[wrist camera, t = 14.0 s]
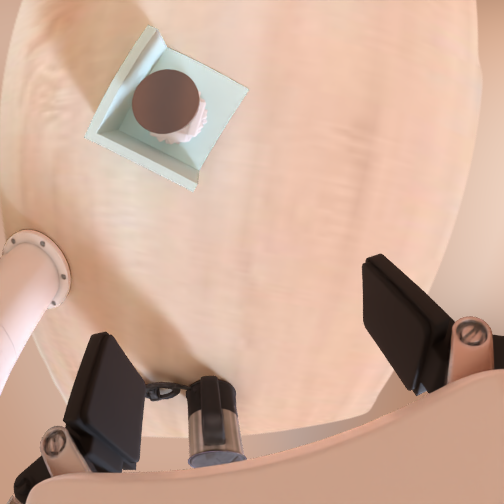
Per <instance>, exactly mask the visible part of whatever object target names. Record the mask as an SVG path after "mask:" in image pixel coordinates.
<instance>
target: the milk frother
mask: <svg viewBox="0 0 504 504" xmlns="http://www.w3.org/2000/svg"><path fill="white" fill-rule="evenodd" d="M159 388H168V389H172V390H173V391H172V392H170V393H168V394H164V395H160V391H159ZM180 389H185V390H187V391H186V398H187V401H188V421H189V453H190V458H189V459H188V463H189V465H190V466H191V467H193V468H200V467H207V466H214V465H221V464H227V463H232V462H238V461H243V460H247V458H246V457H245V456H244V453H243V447H242V440H241V434H240V427H239V421H238V414H237V409H236V391H235V389H234V387H233V386H232V385H230V384H229V383H227V382H224V381H221V380H218V379H217V377H216V376H204V377H201V379H200V381H198V382H195V383H193V384H192V385H191V386H189V387H188V386H185V385H180V384H176V383H169V382H156V383H150V384H147V385H146V392H145V397H146V398H149V399H150V400H151V401H159V400H161V399H169V398H173V397H174V396H176V395H178V394H179V393H180ZM147 392H148V393H147Z"/></svg>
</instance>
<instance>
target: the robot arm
mask: <svg viewBox="0 0 504 504" xmlns="http://www.w3.org/2000/svg"><path fill="white" fill-rule="evenodd" d="M362 279H363V322H364V325H365V328H366V329H367V331H368V332H369V334H370V335H371V336H372V338H373V339H374V341H375V342H376V344H377V345H378V347H379V348H380V350H381V351H382V352H383V354H384V355H385V357H386V358H387V360H388V361H389V363H390V364H391V366H392V367H393V369H394V370H395V372H396V373H397V375H398V376H399V378H400V379H401V381H402V382H403V384H404V385H405V387H406V388H407V390H410V391H411V390H413V392H414V393H415V395H416V396H418V395H420V394H421V393H423V392H425V391H427V392H428V393H429V394H427V395H426V396H424V397H422V398H420V399H418V400H416V401H414V402H412V403H410V404H408V405H406V406H404V407H401V408H399V409H397V410H395V411H393V412H391V413H389V414H386V415H384V416H382V417H379V418H377V419H375V420H373V421H370V422H368V423H365V424H363V425H361V426H358V427H355V428H353V429H350V430H348V431H345V432H343V433H340V434H337V435H334V436H331V437H328V438H325V439H323V440H319V441H316V442H313V443H310V444H307V445H304V446H300V447H296V448H293V449H289V450H286V451H282V452H278V453H274V454H271V455H266V456H262V457H257V458H253V459H248V460H243V461H238V462H232V463H227V464H221V465H214V466H207V467H200V468H193V469H183V470H172V471H158V472H133V473H122V469H123V470H136V462H138V461H139V459H140V445H141V432H142V421H143V410H144V401H145V392H146V385H145V382H144V380H143V379H142V377H141V376H140V375H139V373H138V372H137V371H136V369H135V368H134V366H133V365H132V363H131V362H130V361H129V359H128V358H127V356H126V355H125V353H124V352H123V350H122V349H121V347H120V346H119V344H118V343H117V341H116V340H115V338H114V337H113V336H112V335H109V334H108V333H107V332H102V333H97V334H93V335H92V336H91V338H90V340H89V343H88V346H87V348H86V351H85V354H84V356H83V359H82V362H81V365H80V368H79V370H78V373H77V376H76V379H75V382H74V385H73V388H72V392H71V395H70V398H69V401H68V405H67V408H66V412H65V415H64V418H63V421H64V422H65V423H66V427H65V428H64V427H62V426H54V427H52V428H50V429H48V430H47V431H46V433H45V434H44V435H43V437H42V439H41V442H40V451H41V454H42V456H41V457H39V458H38V459H37V460H36V461H35V462H34V463H32V464H31V465H30V466H29V467H28V468H27V469H25V470H24V471H23V472H22V473H21V474H20V475H19V476H18V477H17V478H16V480H15V483H14V493H15V497H14V496H13V495H12V496H11V498H10V499H9V501H8V503H7V504H504V336H498V335H492V331H491V328H490V327H489V325H488V324H487V323H486V322H485V321H484V320H482V319H480V318H477V317H472V316H469V317H463V318H460V319H459V320H457V321H456V322H454V320H453V319H452V318H451V317H449V315H448V314H447V313H445V312H444V310H443V309H441V307H439V306H438V305H437V304H436V303H435V302H434V301H433V300H432V299H431V298H430V297H429V296H428V295H427V294H426V293H425V292H424V291H423V290H422V289H421V288H420V287H419V286H417V285H416V284H415V283H414V282H413V281H412V280H411V279H410V278H408V277H407V276H406V275H405V274H404V273H403V272H402V271H401V270H400V269H398V268H397V267H396V266H395V265H394V264H393V263H392V262H391V261H389V260H388V259H387V258H386V257H385V256H384V255H382V254H378V255H375V256H372V257H369V258H367V259H366V262H365V263H364V264H363V265H362ZM70 286H71V276H70V270H69V266H68V263H67V261H66V259H65V257H64V255H63V253H62V252H61V250H60V249H59V248H58V246H57V245H56V244H55V243H54V242H53V241H52V240H51V239H50V238H48V237H47V236H45V235H44V234H42V233H40V232H37V231H34V230H21V231H18V232H16V233H15V234H14V235H12V236H11V237H10V238H9V239H8V240H7V242H6V243H5V245H4V248H3V252H2V257H1V258H0V395H1V393H2V390H3V387H4V385H5V383H6V380H7V378H8V376H9V374H10V372H11V370H12V368H13V366H14V364H15V362H16V361H17V359H18V357H19V355H20V353H21V351H22V349H23V348H24V346H25V344H26V342H27V340H28V338H29V337H30V335H31V334H32V332H33V330H34V328H35V327H36V325H37V323H38V322H39V320H40V319H41V317H42V315H43V314H44V312H45V310H46V309H51V308H55V307H57V306H59V305H60V304H61V303H62V302H63V301H64V300H65V298H66V297H67V295H68V293H69V290H70Z"/></svg>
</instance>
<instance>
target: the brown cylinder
mask: <svg viewBox="0 0 504 504" xmlns="http://www.w3.org/2000/svg"><path fill="white" fill-rule="evenodd" d="M199 105H200V98H199V93H198V89H197V87H196V85H195V83H194V82H193V80H192V79H191V78H190V77H189V76H187V75H186V74H184V73H183V72H180V71H177V70H172V69H165V70H159V71H156V72H154V73H152V74H150V75H148V76H147V77H145V78H144V79H143V80H142V81H141V82H140V83H139V85H138V86H137V88H136V90H135V92H134V95H133V99H132V110H133V114H134V117H135V118H136V120H137V122H138V123H139V124H140V125H141V126H142V127H143V128H144V129H146V130H148V131H150V132H153V133H157V134H168V133H173V132H176V131H179V130H181V129H183V128H185V127H186V126H187V125H189V124H190V123H191V122H192V121H193V119H194V118H195V116H196V114H197V112H198V110H199Z"/></svg>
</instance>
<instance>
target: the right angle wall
mask: <svg viewBox="0 0 504 504" xmlns="http://www.w3.org/2000/svg"><path fill="white" fill-rule="evenodd" d="M165 69H172V70H177V71H180V72H183V73H184V74H186V75H187V76H189V77H190V78H191V79H192V80H193V82H194V83H195V85H196V87H197V89H198V93H199V98H200V105H199V110H198V112H197V114H196V116H195V118H194V119H193V121H192V122H191V123H190V124H189V125H187V126H186V127H185V128H183V129H181V130H179V131H176V132H173V133H168V134H157V133H153V132H150V131H148V130H146V129H144V128H143V127H142V126H141V125H140V124H139V123H138V122H137V120H136V118H135V117H134V114H133V110H132V99H133V95H134V92H135V90H136V88H137V86H138V85H139V83H140V82H141V81H142V80H143V79H144V78H145V77H147V76H148V75H150V74H152V73H154V72H156V71H159V70H165ZM248 91H249V89H247V88H246V87H244V86H242V85H240V84H239V83H237V82H235V81H233V80H232V79H230V78H228V77H226V76H224V75H223V74H221V73H219V72H217V71H215V70H213V69H211V68H209V67H207V66H206V65H204V64H202V63H200V62H198V61H196V60H194V59H192V58H189V57H187V56H185V55H183V54H181V53H179V52H177V51H175V50H172V49H170V48H168V47H167V46H166V44H165V42H164V40H163V38H162V36H161V34H160V32H159V30H158V29H157V28H155V27H152V26H150V25H148V26H147V27H146V29H145V30H144V31H143V33H142V34H141V36H140V37H139V39H138V40H137V42H136V43H135V45H134V46H133V48H132V49H131V51H130V52H129V54H128V55H127V57H126V59H125V60H124V62H123V63H122V65H121V67H120V68H119V70H118V72H117V73H116V75H115V77H114V79H113V80H112V82H111V84H110V86H109V88H108V89H107V91H106V93H105V95H104V97H103V99H102V101H101V103H100V105H99V107H98V109H97V111H96V113H95V115H94V117H93V119H92V121H91V123H90V125H89V127H88V130H87V132H86V134H85V136H84V138H86V139H88V140H90V141H92V142H94V143H96V144H98V145H100V146H102V147H104V148H106V149H108V150H110V151H112V152H115V153H117V154H119V155H121V156H123V157H125V158H127V159H129V160H131V161H133V162H135V163H137V164H139V165H141V166H143V167H145V168H147V169H149V170H151V171H153V172H155V173H157V174H158V175H160V176H162V177H164V178H166V179H168V180H170V181H172V182H174V183H176V184H178V185H180V186H182V187H184V188H186V189H188V190H190V191H192V192H194V190H195V188H196V186H197V185H198V176H199V170H200V168H201V166H202V165H203V163H204V161H205V160H206V158H207V156H208V155H209V153H210V151H211V149H212V148H213V146H214V144H215V143H216V141H217V139H218V138H219V136H220V135H221V133H222V131H223V130H224V128H225V127H226V125H227V123H228V122H229V120H230V119H231V117H232V115H233V114H234V112H235V111H236V109H237V108H238V106H239V105H240V103H241V102H242V100H243V98H244V97H245V95H246V94H247V92H248Z"/></svg>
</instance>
